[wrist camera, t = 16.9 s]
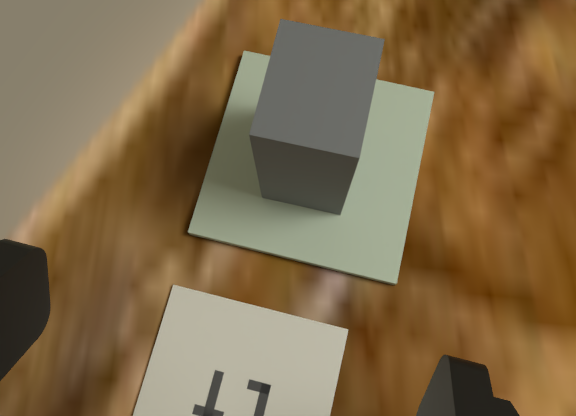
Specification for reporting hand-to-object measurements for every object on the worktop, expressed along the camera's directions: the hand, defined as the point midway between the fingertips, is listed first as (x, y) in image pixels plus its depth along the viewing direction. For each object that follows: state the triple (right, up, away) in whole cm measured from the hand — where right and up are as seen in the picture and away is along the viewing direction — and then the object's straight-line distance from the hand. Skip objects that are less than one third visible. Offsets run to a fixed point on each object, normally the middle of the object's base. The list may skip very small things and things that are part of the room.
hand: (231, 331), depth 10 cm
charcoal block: (+2, +5, +20) cm, 21 cm away
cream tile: (-2, -8, +17) cm, 19 cm away
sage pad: (+3, +5, +21) cm, 22 cm away
